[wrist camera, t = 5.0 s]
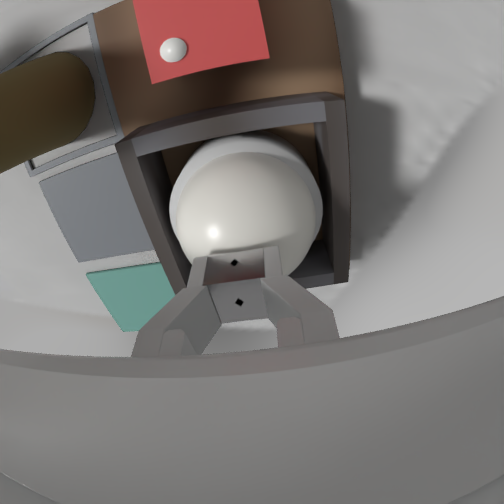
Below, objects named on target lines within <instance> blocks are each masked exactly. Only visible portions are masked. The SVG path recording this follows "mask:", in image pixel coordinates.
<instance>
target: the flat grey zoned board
mask: <svg viewBox="0 0 504 504" xmlns="http://www.w3.org/2000/svg"><path fill="white" fill-rule="evenodd" d="M93 14H94V13H90V14H88V15H87V16H85V17H83V18H81V19H79V20H77V21H75V22H73V23H72V24H70V25H68V26H66V27H65V28H63V29H61V30H59V31H58V32H56V33H55V34H53V35H51V36H50V37H48V38H47V39H45V40H43V41H42V42H40V43H39V44H37V45H36V46H34V47H33V48H32V49H30V50H29V51H27V52H26V53H24V54H23V55H22V56H20V57H19V58H18V59H16V60H15V61H14V62H12V63H11V64H10V65H9V66H7V67H6V68H5V69H4V70H2V71H1V72H0V74H1V73H3V72H5V71H8V70H10V69H12V68H14V67H16V66H18V65H19V64H20V63H22V62H23V61H25V60H26V59H27V58H29V57H30V56H32V55H33V54H35V53H36V52H38V51H39V50H41V49H42V48H44V47H45V46H47V45H48V44H50V43H52V42H53V41H55V40H57V39H58V38H60V37H62V36H63V35H65V34H67V33H69V32H70V31H72V30H74V29H76V28H78V27H80V26H81V25H83V24H85V23H88V28H89V33H90V37H91V42H92V46H93V51H94V55H95V59H96V63H97V67H98V71H99V75H100V79H101V82H102V86H103V90H104V93H105V97H106V100H107V104H108V107H109V111H110V114H111V117H112V121H113V124H114V127H115V130H116V133H117V135H115V136H112V137H110V138H107V139H104V140H101V141H99V142H96V143H93V144H91V145H88V146H85V147H83V148H80V149H78V150H75V151H73V152H71V153H68V154H66V155H64V156H61V157H59V158H57V159H54V160H52V161H50V162H48V163H46V164H43V165H41V166H39V167H37V168H35V169H33V168H32V165H31V162H30V160H28V161H26V162H24V163H25V166H26V168H27V171H28V173H29V176H30V177H32V176H34V175H36V174H38V173H41V172H43V171H45V170H47V169H50V168H52V167H54V166H57V165H59V164H61V163H64V162H66V161H69V160H71V159H73V158H76V157H79V156H81V155H84V154H86V153H89V152H92V151H94V150H97V149H100V148H103V147H105V146H108V145H111V144H114V143H117V142H119V141H120V140H121V139H123V138H124V137H125V136H124V133H123V130H122V127H121V124H120V120H119V117H118V114H117V110H116V107H115V103H114V100H113V96H112V93H111V89H110V86H109V82H108V78H107V74H106V70H105V66H104V62H103V58H102V54H101V50H100V46H99V41H98V37H97V32H96V28H95V23H94V18H93ZM39 184H40V187H41V189H42V191H43V194H44V196H45V198H46V200H47V202H48V205H49V207H50V209H51V211H52V213H53V215H54V217H55V219H56V221H57V223H58V225H59V227H60V229H61V231H62V233H63V235H64V237H65V239H66V241H67V243H68V244H69V246H70V248H71V250H72V252H73V254H74V255H75V257H76V259H77V261H78V262H85V261H90V260H96V259H102V258H108V257H113V256H119V255H125V254H131V253H137V252H143V251H149V250H155V249H154V247H153V244H152V242H151V240H150V237H149V235H148V233H147V230H146V228H145V225H144V223H143V220H142V218H141V215H140V213H139V210H138V208H137V205H136V203H135V200H134V197H133V195H132V192H131V190H130V187H129V184H128V181H127V179H126V176H125V173H124V170H123V168H122V165H121V162H120V159H119V156H118V153H114V154H111V155H108V156H105V157H102V158H99V159H96V160H93V161H90V162H88V163H85V164H82V165H80V166H77V167H74V168H72V169H69V170H67V171H64V172H61V173H59V174H57V175H54V176H52V177H49V178H47V179H45V180H42V181H40V182H39ZM86 276H87V278H88V279H89V281H90V283H91V284H92V286H93V288H94V289H95V291H96V292H97V294H98V295H99V297H100V299H101V300H102V302H103V303H104V305H105V306H106V308H107V309H108V311H109V312H110V314H111V315H112V317H113V318H114V320H115V321H116V323H117V324H118V325H119V327H120V328H121V330H122V331H123V332H126V331H139V330H140V329H141V328H142V327H143V326H144V325H145V324H146V323H147V322H148V321H149V320H150V319H151V318H152V317H153V316H154V315H155V314H157V313H158V312H159V311H160V310H161V309H162V308H163V307H164V306H165V305H166V304H167V303H168V302H169V301H170V300H171V299H172V298H173V297H174V296H175V293H174V291H173V289H172V287H171V285H170V283H169V280H168V278H167V276H166V274H165V272H164V269H163V267H162V265H161V263H160V262H157V263H151V264H144V265H137V266H130V267H124V268H117V269H110V270H104V271H97V272H90V273H86Z"/></svg>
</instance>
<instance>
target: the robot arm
mask: <svg viewBox="0 0 504 504" xmlns="http://www.w3.org/2000/svg"><path fill="white" fill-rule="evenodd" d="M265 318H269V320H270V321H271V322H272V323H273V324H274V326H275V327H276V328H277V338H278V348H269V349H260V350H252V351H241V352H230V353H219V354H204V355H201V354H202V352H203V351H204V349H205V348H206V346H207V345H208V344H209V342H210V341H211V339H212V338H213V336H214V335H215V334H216V332H217V331H218V329H219V328H220V326H221V324H222V323H230V322H237V321H244V320H255V319H265ZM0 504H504V296H503V297H500V298H497V299H494V300H491V301H488V302H485V303H482V304H479V305H475V306H472V307H469V308H466V309H462V310H459V311H456V312H452V313H448V314H445V315H441V316H437V317H434V318H430V319H426V320H422V321H418V322H414V323H410V324H406V325H402V326H397V327H393V328H388V329H384V330H379V331H375V332H370V333H365V334H360V335H355V336H350V337H344V338H339V334H338V330H337V326H336V322H335V318H334V314H333V310H332V309H331V308H329V307H328V306H327V305H325V304H324V303H323V302H322V301H320V300H319V299H318V298H316V297H315V296H314V295H313V294H311V293H310V292H309V291H307V290H306V289H305V288H304V287H302V286H301V285H300V284H298V283H297V282H296V281H294V280H293V279H292V278H291V277H289V276H288V275H283V271H282V264H281V258H280V251H279V246H278V245H274V246H268V247H264V248H258V249H252V250H246V251H240V252H230V253H222V254H214V255H209V256H208V255H207V256H200V257H195V258H194V259H193V263H192V267H191V271H190V276H189V280H188V284H187V288H183V289H182V290H181V291H180V292H179V293H177V294H176V295H175V296H174V297H173V298H172V299H171V300H170V301H169V302H168V303H167V304H166V305H165V306H164V307H163V308H162V309H161V310H160V311H159V312H158V313H157V314H155V315H154V316H153V317H152V318H151V319H150V320H149V321H148V322H147V323H146V324H145V325H144V326H143V327H142V328H141V329H140V330H139V332H138V335H137V338H136V342H135V345H134V349H133V352H132V355H131V357H92V356H69V355H54V354H41V353H30V352H21V351H12V350H4V349H0Z"/></svg>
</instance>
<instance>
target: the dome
mask: <svg viewBox="0 0 504 504" xmlns="http://www.w3.org/2000/svg"><path fill="white" fill-rule="evenodd" d="M169 213H170V220H171V224H172V228H173V230H174V233H175V235H176V237H177V239H178V240H179V242H180V245H181V247H182V250H183V252H184V254H185V255H186V257H187V259H188V260H189V262H190V263H191V264H192V263H193V259H194V258H195V257H200V256H207V255H208V256H209V255H214V254H222V253H230V252H240V251H246V250H252V249H258V248H264V247H268V246H274V245H278V246H279V251H280V258H281V264H282V271H283V275H289V274H290V273H291V272H293V271H294V270H295V269H296V268H297V267H298V266H299V265H300V263H301V262H302V261H303V259H304V258H305V256H306V254H307V253H308V251H309V249H310V247H311V244H312V243H313V241H314V240H315V238H316V236H317V234H318V232H319V229H320V226H321V221H322V215H323V205H322V197H321V194H320V191H319V188H318V186H317V183H316V181H315V179H314V177H313V175H312V173H311V171H310V169H309V167H308V165H307V163H306V161H305V159H304V158H303V156H302V155H301V154H300V152H299V151H298V150H297V149H296V148H295V147H294V146H293V145H291V144H290V143H289V142H288V141H286V140H285V139H283V138H281V137H280V136H277V135H275V134H273V133H270V132H267V131H263V130H254V131H248V132H242V133H237V134H231V135H226V136H221V137H216V138H211V139H208V140H207V141H205V142H204V143H203V144H202V145H200V146H199V147H198V148H197V149H196V150H195V151H194V152H193V154H192V155H191V157H190V158H189V159H188V161H187V163H186V165H185V166H184V168H183V170H182V172H181V173H180V175H179V177H178V179H177V181H176V183H175V185H174V187H173V190H172V193H171V198H170V208H169Z"/></svg>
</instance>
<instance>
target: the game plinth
mask: <svg viewBox="0 0 504 504" xmlns="http://www.w3.org/2000/svg"><path fill="white" fill-rule="evenodd" d="M258 2H259V7H260V12H261V16H262V21H263V26H264V31H265V36H266V41H267V46H268V51H269V57H270V58H268V59H263V60H256V61H250V62H244V63H238V64H233V65H228V66H223V67H218V68H213V69H209V70H204V71H200V72H196V73H192V74H188V75H184V76H180V77H177V78H173V79H169V80H166V81H162V82H159V83H155V84H152V82H151V78H150V74H149V70H148V66H147V62H146V58H145V54H144V50H143V45H142V41H141V37H140V32H139V28H138V23H137V19H136V14H135V10H134V5H133V0H124V1H121V2H119V3H117V4H114V5H112V6H110V7H108V8H106V9H103V10H101V11H99V12H97V13H95V14H93V18H94V23H95V28H96V32H97V37H98V41H99V46H100V50H101V54H102V58H103V62H104V66H105V70H106V74H107V78H108V82H109V86H110V89H111V93H112V96H113V100H114V103H115V107H116V110H117V114H118V117H119V120H120V124H121V127H122V130H123V133H124V136H125V137H124V138H123V139H121V140H120V141H119V142H117V143H116V144H115V147H116V150H117V153H118V156H119V159H120V162H121V165H122V168H123V170H124V173H125V176H126V179H127V181H128V184H129V187H130V190H131V192H132V195H133V197H134V200H135V203H136V205H137V208H138V210H139V213H140V215H141V218H142V220H143V223H144V225H145V228H146V230H147V233H148V235H149V237H150V240H151V242H152V244H153V247H154V249H155V251H156V254H157V256H158V258H159V260H160V263H161V265H162V267H163V269H164V272H165V274H166V276H167V278H168V280H169V283H170V285H171V287H172V289H173V291H174V293H175V295H176V294H177V293H179V292H180V291H181V290H182V289H183V288H187V284H188V280H189V276H190V271H191V267H192V264H191V263H190V262H189V260H188V259H187V257H186V255H185V254H184V252H183V250H182V247H181V245H180V242H179V240H178V239H177V237H176V235H175V233H174V230H173V228H172V224H171V220H170V213H169V208H170V198H171V193H172V190H173V187H174V185H175V183H176V181H177V179H178V177H179V175H180V173H181V172H182V170H183V168H184V166H185V165H186V163H187V161H188V159H189V158H190V157H191V155H192V154H193V152H194V151H195V150H196V149H197V148H198V147H199V146H200V145H202V144H203V143H204V142H205V141H207V140H208V139H211V138H216V137H221V136H226V135H231V134H237V133H242V132H248V131H254V130H263V131H267V132H270V133H273V134H275V135H277V136H280V137H281V138H283V139H285V140H286V141H288V142H289V143H290V144H291V145H293V146H294V147H295V148H296V149H297V150H298V151H299V152H300V154H301V155H302V156H303V158H304V159H305V161H306V163H307V165H308V167H309V169H310V171H311V173H312V175H313V177H314V179H315V181H316V183H317V186H318V188H319V191H320V194H321V197H322V205H323V215H322V221H321V226H320V229H319V232H318V234H317V236H316V238H315V240H314V241H313V243H312V244H311V247H310V249H309V251H308V253H307V254H306V256H305V258H304V259H303V261H302V262H301V263H300V265H299V266H298V267H297V268H296V269H295V270H294V271H293V272H291V273H290V274H289V275H288V276H289V277H291V278H292V279H293V280H294V281H296V282H297V283H298V284H300V285H301V286H302V287H304V288H305V289H306V288H312V287H319V286H326V285H332V284H338V283H345V282H348V277H349V266H350V228H351V201H350V163H349V143H348V128H347V115H346V104H345V94H344V85H343V76H342V68H341V61H340V54H339V47H338V40H337V34H336V28H335V23H334V17H333V12H332V7H331V2H330V0H258Z"/></svg>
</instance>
